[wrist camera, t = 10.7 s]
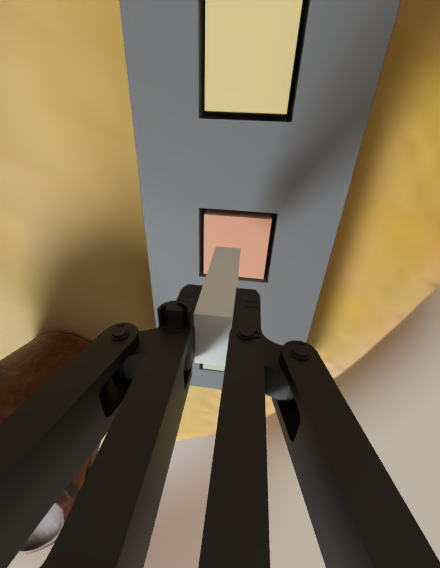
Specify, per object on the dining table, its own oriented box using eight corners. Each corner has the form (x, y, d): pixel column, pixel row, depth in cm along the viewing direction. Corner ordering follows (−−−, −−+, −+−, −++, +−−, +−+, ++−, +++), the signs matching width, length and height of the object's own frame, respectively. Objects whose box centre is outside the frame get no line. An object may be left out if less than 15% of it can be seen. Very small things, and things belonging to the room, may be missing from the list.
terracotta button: (211, 202, 22) (204, 214, 19) (270, 206, 21) (271, 219, 18) (210, 255, 24) (203, 273, 21) (262, 260, 24) (263, 279, 21)
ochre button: (215, 20, 16) (205, -5, 13) (294, 21, 16) (303, -5, 13) (213, 113, 19) (204, 110, 16) (282, 116, 18) (286, 113, 15)
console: (144, -43, 16) (108, -98, 12) (385, -47, 15) (430, -110, 11) (173, 351, 33) (161, 381, 29) (286, 365, 32) (290, 398, 28)
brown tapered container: (111, 425, 43) (30, 587, 28) (-7, 361, 39) (-181, 514, 23) (170, 375, 35) (102, 565, 20) (30, 286, 30) (-203, 446, 15)
